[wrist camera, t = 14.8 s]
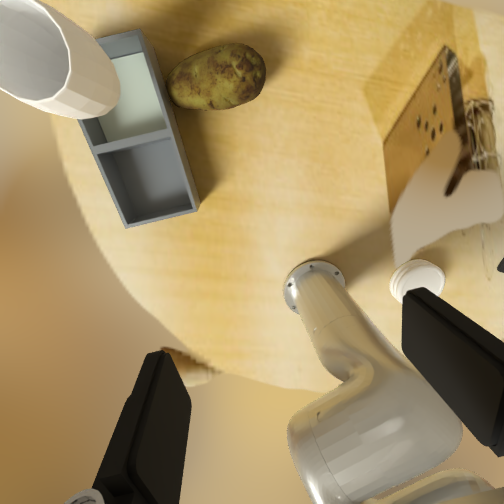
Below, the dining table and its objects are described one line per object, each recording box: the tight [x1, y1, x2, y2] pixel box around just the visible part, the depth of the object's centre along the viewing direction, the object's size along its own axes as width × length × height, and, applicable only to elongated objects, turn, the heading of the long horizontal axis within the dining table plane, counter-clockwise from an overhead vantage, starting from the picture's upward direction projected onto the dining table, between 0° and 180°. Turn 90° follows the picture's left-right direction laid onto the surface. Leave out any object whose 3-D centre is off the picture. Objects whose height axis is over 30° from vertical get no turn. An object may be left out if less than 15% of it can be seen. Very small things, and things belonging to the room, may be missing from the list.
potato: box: [166, 43, 266, 111], centre depth 33 cm, size 8×13×8 cm, turn 79°
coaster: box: [389, 259, 445, 304], centre depth 52 cm, size 10×10×4 cm
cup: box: [0, 0, 121, 119], centre depth 26 cm, size 7×7×21 cm
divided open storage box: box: [77, 29, 201, 229], centre depth 36 cm, size 22×11×6 cm, turn 12°
